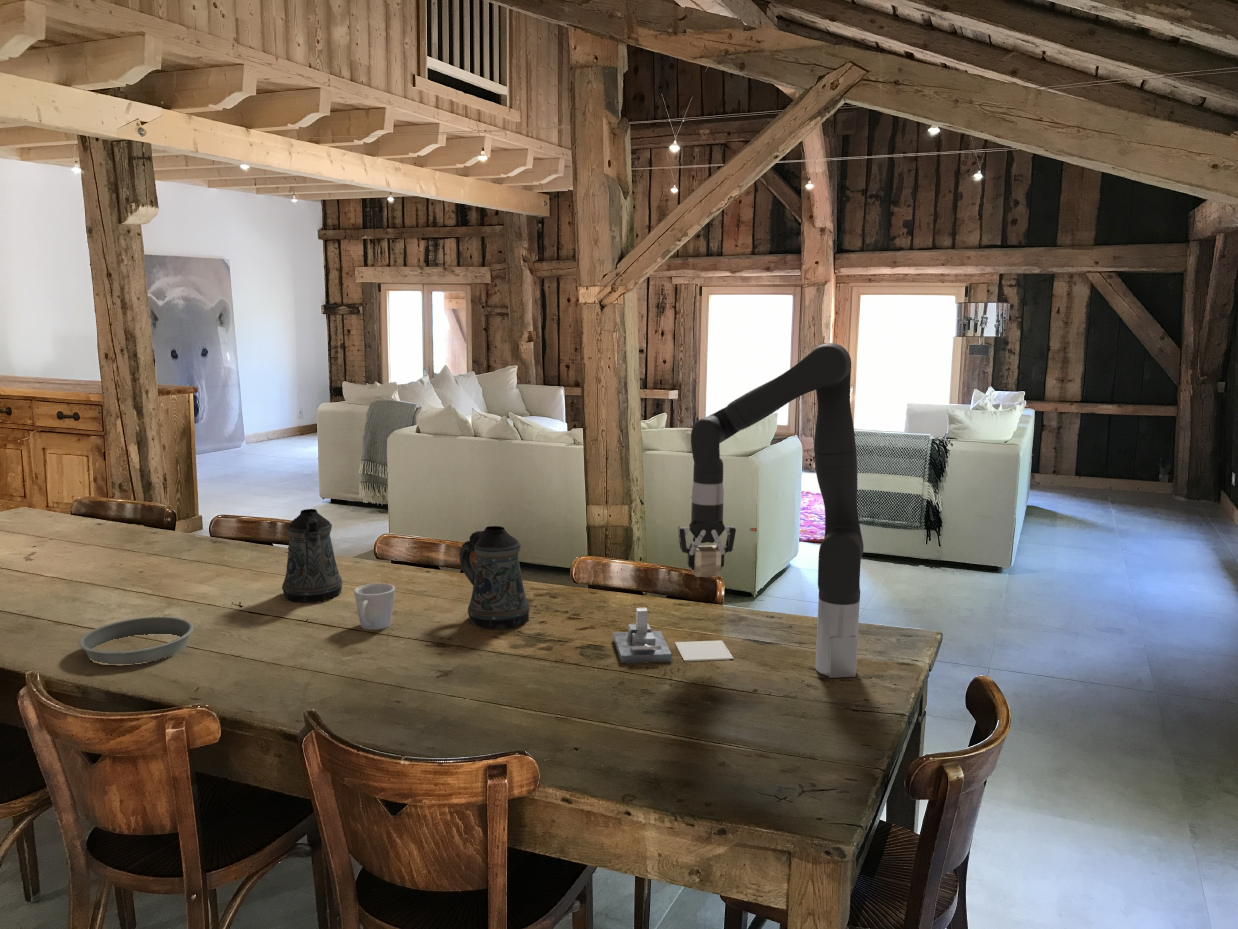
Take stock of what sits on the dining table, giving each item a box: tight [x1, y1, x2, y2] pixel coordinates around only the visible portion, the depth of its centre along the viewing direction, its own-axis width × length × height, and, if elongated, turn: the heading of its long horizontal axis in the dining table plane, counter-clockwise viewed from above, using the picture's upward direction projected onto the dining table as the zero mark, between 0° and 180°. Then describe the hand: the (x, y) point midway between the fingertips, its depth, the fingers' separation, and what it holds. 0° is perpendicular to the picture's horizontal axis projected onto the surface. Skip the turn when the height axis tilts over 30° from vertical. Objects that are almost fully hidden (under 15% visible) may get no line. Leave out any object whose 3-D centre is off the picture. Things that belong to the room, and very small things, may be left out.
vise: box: [612, 607, 673, 664], centre depth 228 cm, size 16×12×10 cm
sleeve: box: [690, 544, 722, 578], centre depth 225 cm, size 6×6×6 cm
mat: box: [674, 639, 734, 662], centre depth 229 cm, size 12×12×1 cm
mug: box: [353, 582, 396, 631], centre depth 243 cm, size 10×15×10 cm
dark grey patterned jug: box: [281, 508, 343, 604], centre depth 268 cm, size 16×19×25 cm
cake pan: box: [78, 616, 194, 664], centre depth 227 cm, size 25×25×4 cm
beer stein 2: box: [459, 525, 531, 630], centre depth 249 cm, size 16×19×25 cm
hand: (705, 568), depth 225 cm, fingers closed on sleeve, 6 cm apart
